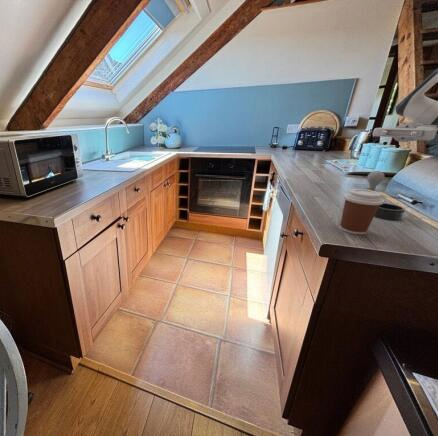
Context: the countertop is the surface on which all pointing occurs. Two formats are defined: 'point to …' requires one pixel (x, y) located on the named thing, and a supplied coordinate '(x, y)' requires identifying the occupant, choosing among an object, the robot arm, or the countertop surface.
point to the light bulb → (375, 179)
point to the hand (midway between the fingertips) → (398, 133)
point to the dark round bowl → (389, 212)
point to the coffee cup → (359, 210)
